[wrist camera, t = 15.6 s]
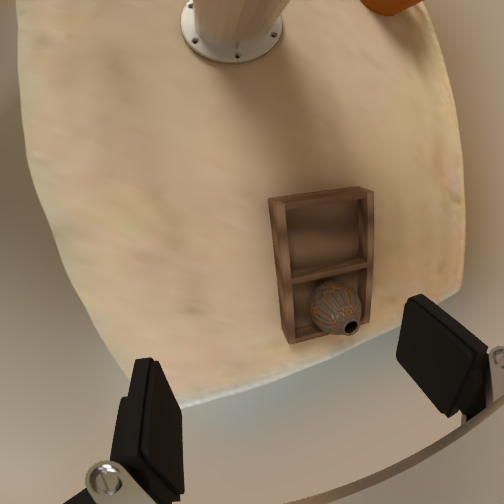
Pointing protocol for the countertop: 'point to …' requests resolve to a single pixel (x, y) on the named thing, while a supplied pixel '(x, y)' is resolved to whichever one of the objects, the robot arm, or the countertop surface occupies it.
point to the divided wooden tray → (321, 251)
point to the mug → (389, 6)
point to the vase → (335, 308)
